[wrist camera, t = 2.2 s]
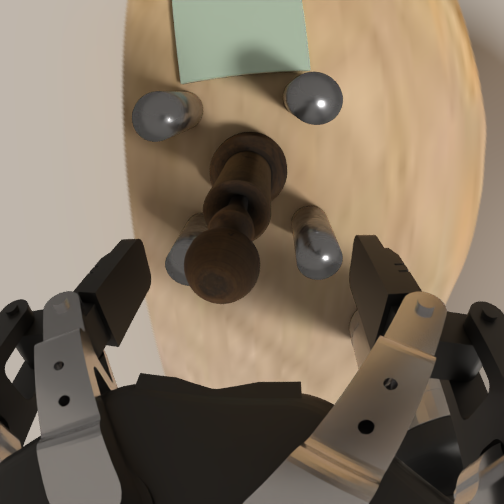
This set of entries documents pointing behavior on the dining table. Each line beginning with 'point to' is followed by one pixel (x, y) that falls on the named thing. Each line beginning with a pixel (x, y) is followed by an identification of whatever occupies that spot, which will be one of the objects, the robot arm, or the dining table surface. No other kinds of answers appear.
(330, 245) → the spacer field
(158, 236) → the dining table surface
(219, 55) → the green mat
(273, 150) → the wooden pepper mill
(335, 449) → the robot arm
